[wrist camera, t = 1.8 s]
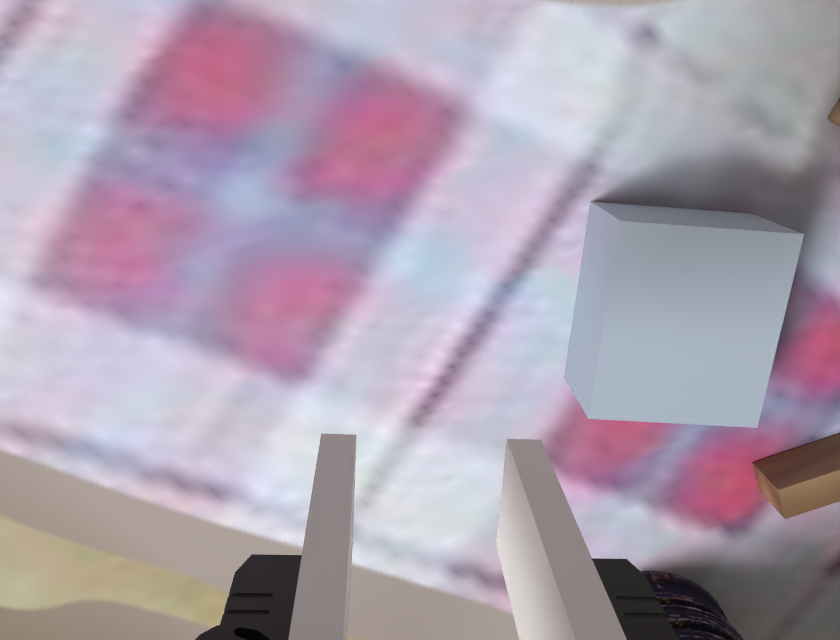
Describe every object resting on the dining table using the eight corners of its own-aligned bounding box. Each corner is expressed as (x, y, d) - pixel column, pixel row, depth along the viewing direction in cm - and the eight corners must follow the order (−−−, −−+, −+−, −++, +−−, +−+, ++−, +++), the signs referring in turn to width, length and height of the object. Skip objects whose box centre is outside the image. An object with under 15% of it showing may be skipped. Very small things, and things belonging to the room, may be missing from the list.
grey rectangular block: (589, 200, 32) (620, 221, 28) (749, 212, 33) (804, 234, 28) (562, 375, 35) (588, 418, 30) (711, 384, 35) (757, 427, 31)
